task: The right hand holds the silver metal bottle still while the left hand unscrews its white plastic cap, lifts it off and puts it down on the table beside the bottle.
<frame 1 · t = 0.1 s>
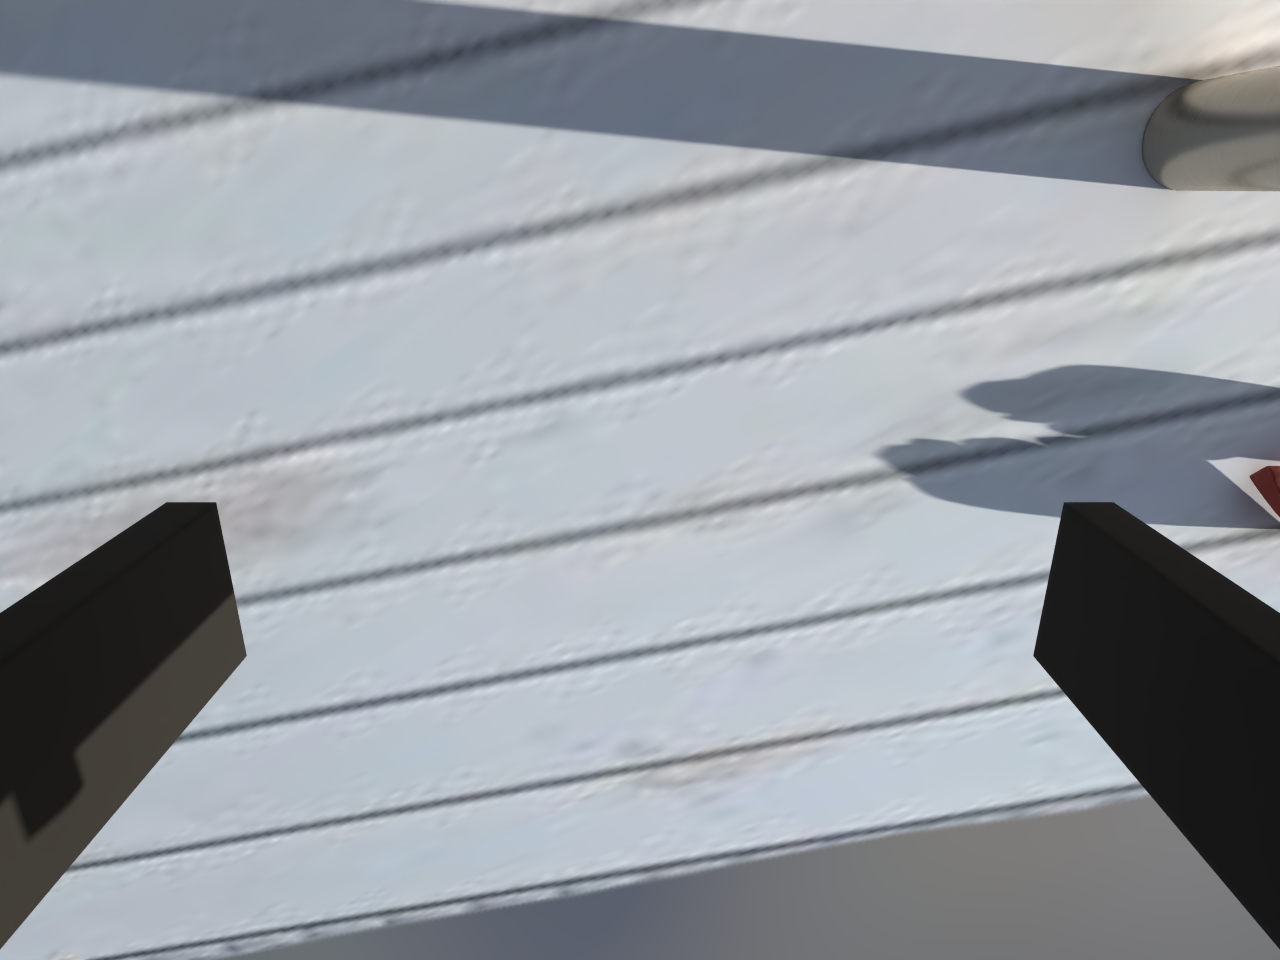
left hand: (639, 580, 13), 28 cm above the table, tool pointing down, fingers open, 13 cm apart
bottle: (1193, 136, 36), on the table
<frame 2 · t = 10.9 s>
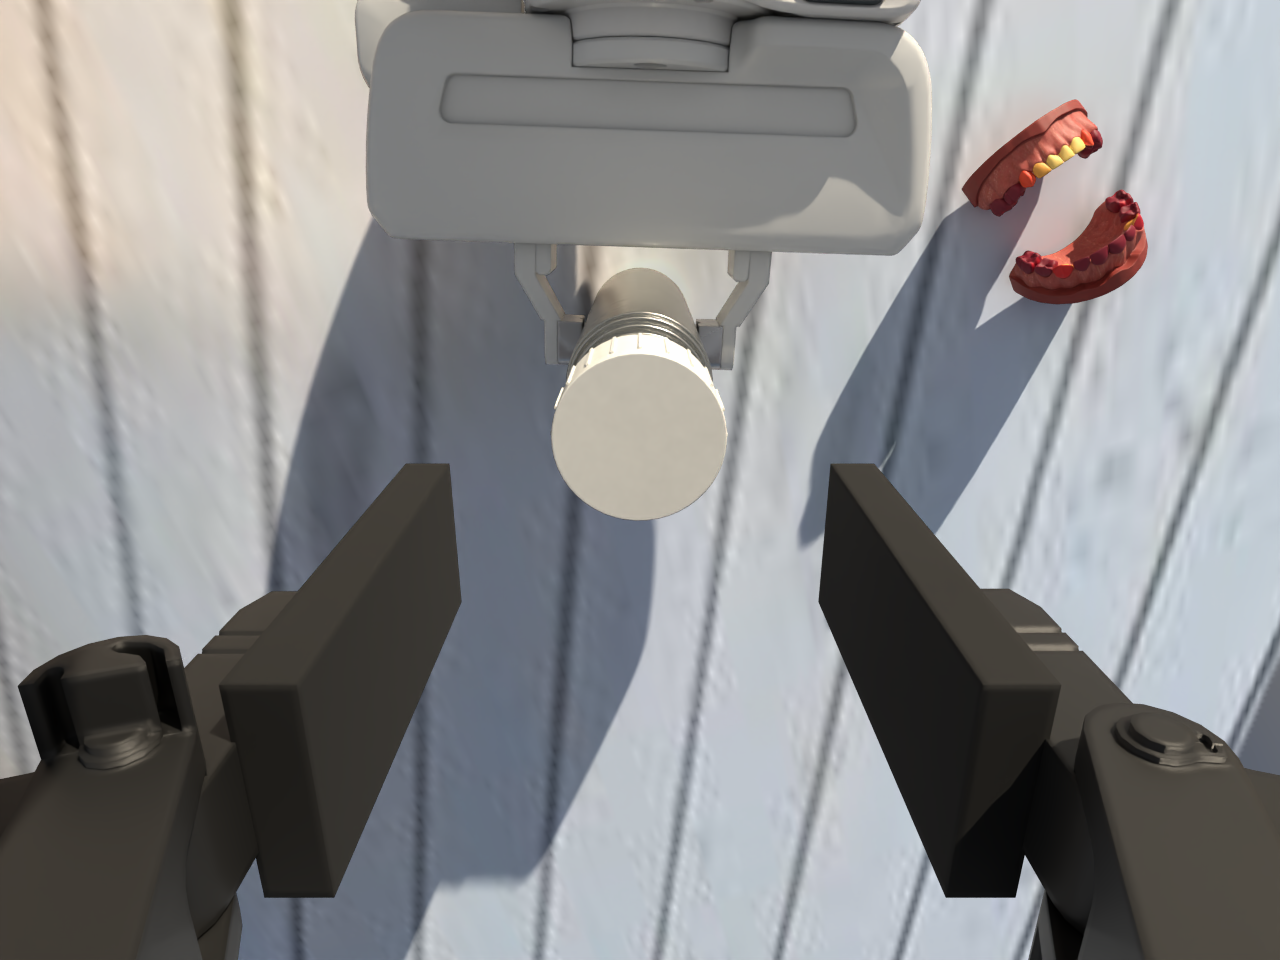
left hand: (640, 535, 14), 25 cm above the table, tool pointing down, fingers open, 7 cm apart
right hand: (640, 364, 32), fingers closed on bottle, 4 cm apart
cap: (639, 436, 20), point 19 cm above the table, screwed on, not yet turned
dental model: (1040, 204, 36), on the table
bottle: (640, 317, 38), on the table, touching right hand
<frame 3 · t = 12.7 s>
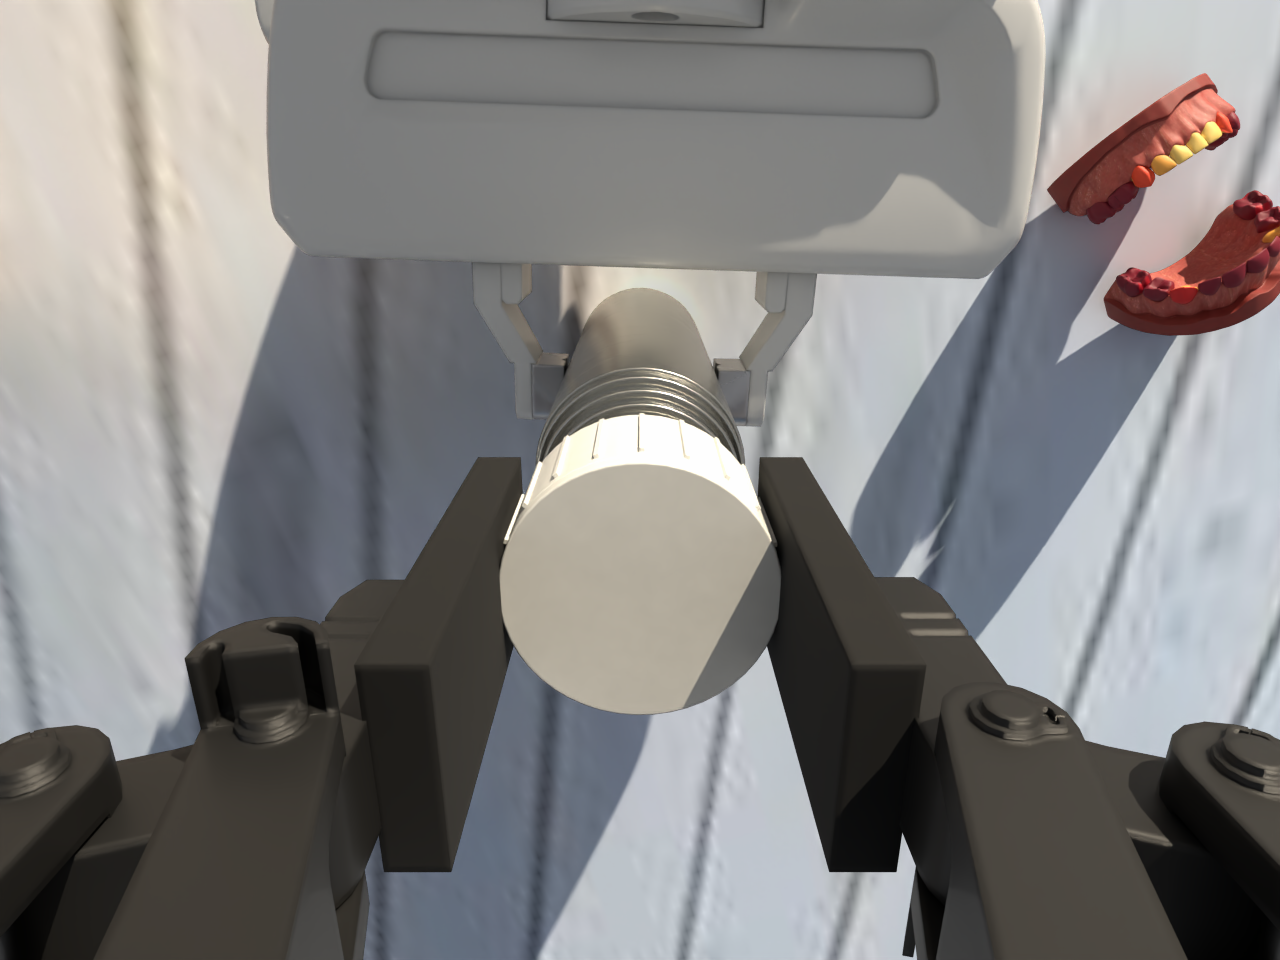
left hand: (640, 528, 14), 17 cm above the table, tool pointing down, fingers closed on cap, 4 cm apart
right hand: (640, 418, 25), fingers closed on bottle, 4 cm apart
cap: (640, 587, 12), point 19 cm above the table, screwed on, not yet turned, touching left hand
dental model: (1144, 208, 29), on the table
bottle: (640, 348, 31), on the table, touching right hand
when the left hand's fingers open (1 cm above the table, at t = 30.8 s): cap drops 1 cm, point 2 cm above the table.
when the right hand's fingers open (7 cm above the table, at t = 32.1 s): bottle stays where it is, on the table.
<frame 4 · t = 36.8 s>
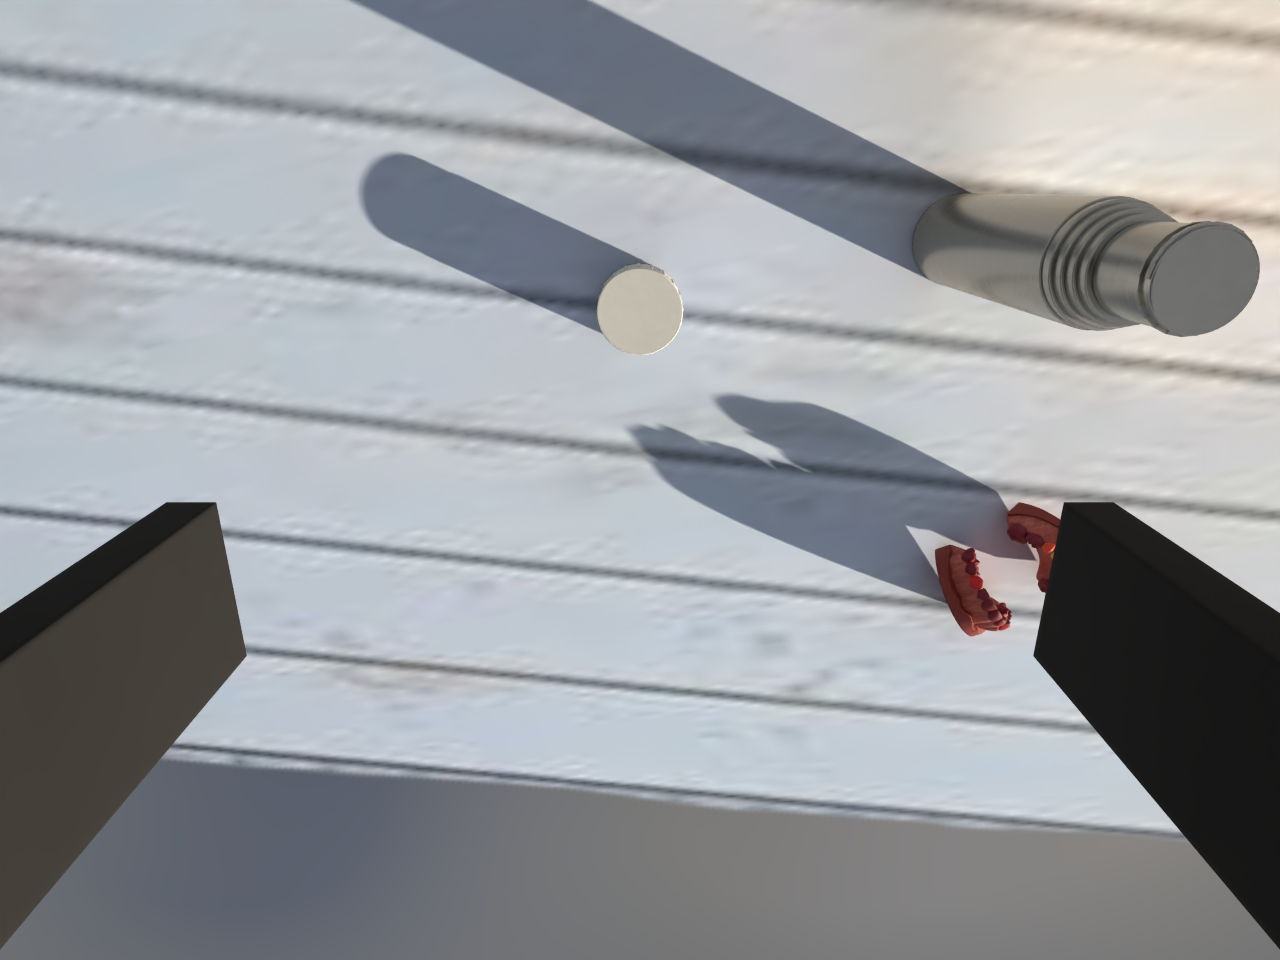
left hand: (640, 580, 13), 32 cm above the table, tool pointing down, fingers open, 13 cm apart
cap: (639, 311, 40), point 2 cm above the table, off its thread
dental model: (995, 559, 47), on the table
bottle: (956, 240, 41), on the table
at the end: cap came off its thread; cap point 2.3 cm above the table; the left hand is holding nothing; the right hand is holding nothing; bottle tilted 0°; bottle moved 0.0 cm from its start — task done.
